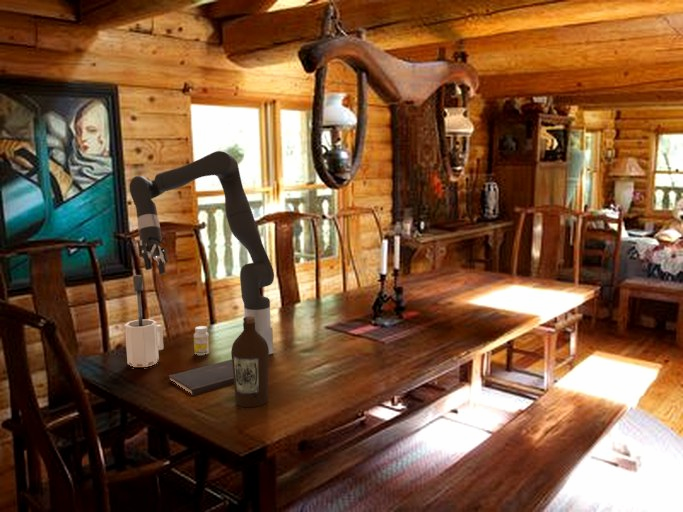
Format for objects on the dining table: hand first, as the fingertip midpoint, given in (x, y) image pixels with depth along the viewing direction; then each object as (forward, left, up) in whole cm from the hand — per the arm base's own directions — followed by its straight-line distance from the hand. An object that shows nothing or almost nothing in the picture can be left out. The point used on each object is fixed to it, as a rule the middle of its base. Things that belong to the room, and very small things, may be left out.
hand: (155, 271), depth 211 cm
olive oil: (-58, +7, -31) cm, 66 cm away
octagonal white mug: (-5, +9, -30) cm, 32 cm away
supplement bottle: (-11, -10, -31) cm, 34 cm away
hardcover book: (-35, +3, -31) cm, 47 cm away
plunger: (-5, +10, -18) cm, 21 cm away
